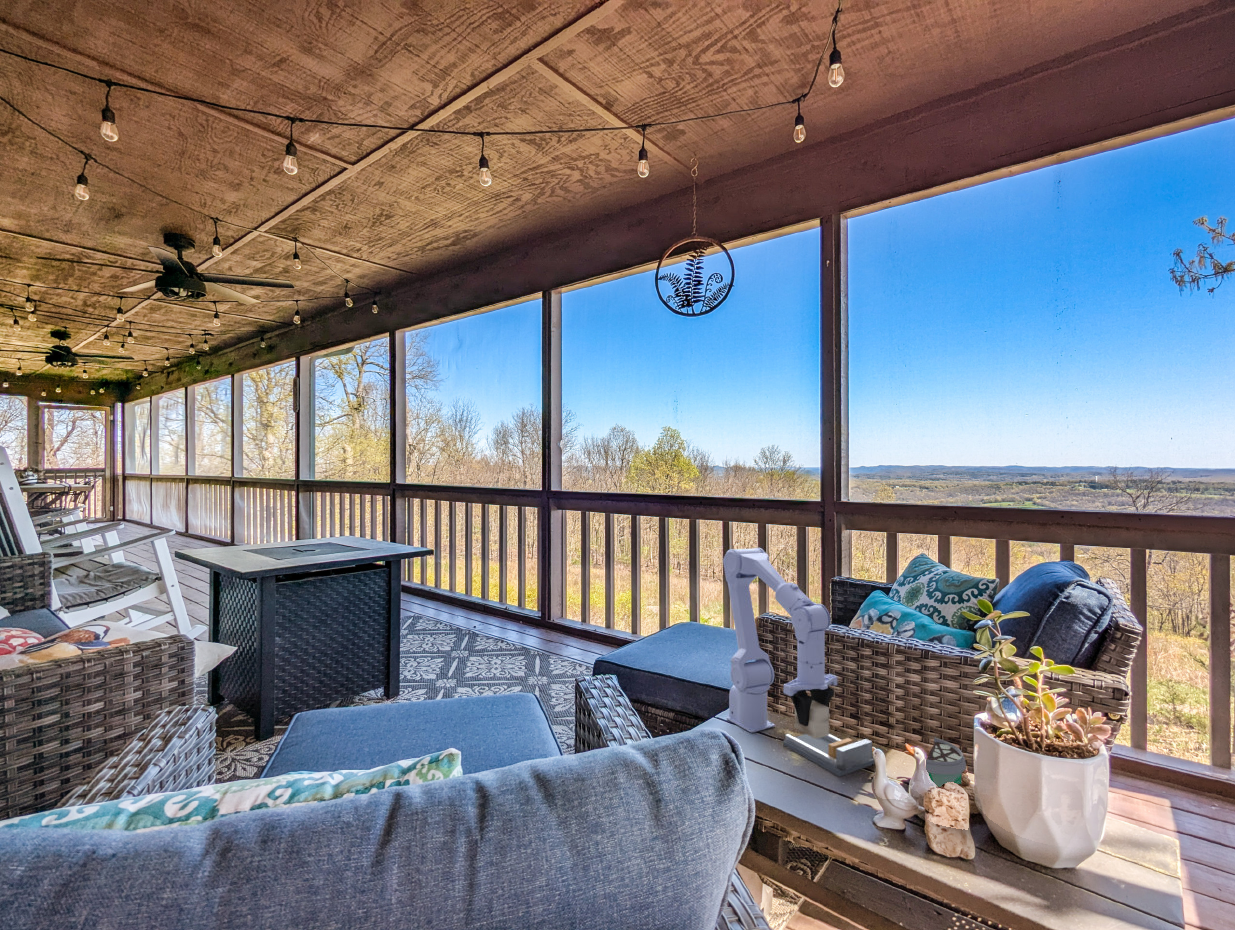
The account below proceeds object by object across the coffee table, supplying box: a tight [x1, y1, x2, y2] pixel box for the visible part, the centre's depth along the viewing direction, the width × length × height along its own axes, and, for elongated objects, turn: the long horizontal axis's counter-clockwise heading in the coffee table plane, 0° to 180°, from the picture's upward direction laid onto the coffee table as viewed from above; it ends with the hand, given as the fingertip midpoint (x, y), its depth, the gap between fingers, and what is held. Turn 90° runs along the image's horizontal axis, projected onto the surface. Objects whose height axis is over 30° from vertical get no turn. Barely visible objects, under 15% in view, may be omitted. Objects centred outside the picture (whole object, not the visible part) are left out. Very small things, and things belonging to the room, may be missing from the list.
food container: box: [925, 737, 967, 787], centre depth 108 cm, size 12×6×10 cm, turn 143°
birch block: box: [794, 700, 830, 739], centre depth 125 cm, size 6×4×6 cm, turn 28°
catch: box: [828, 737, 854, 759], centre depth 125 cm, size 1×6×3 cm, turn 119°
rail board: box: [782, 733, 875, 777], centre depth 128 cm, size 16×11×5 cm
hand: (810, 722), depth 125 cm, fingers closed on birch block, 4 cm apart
